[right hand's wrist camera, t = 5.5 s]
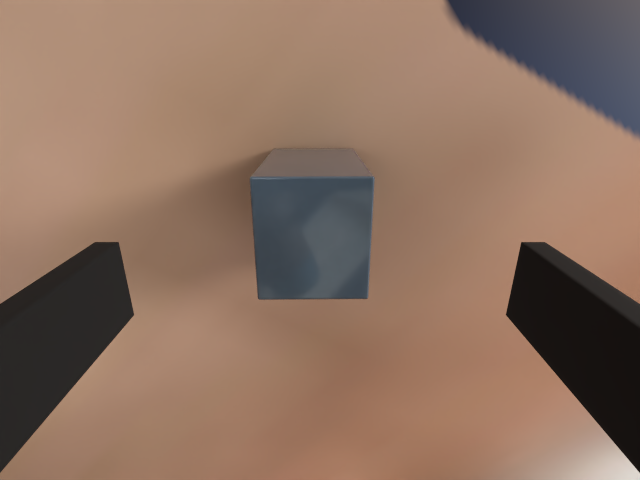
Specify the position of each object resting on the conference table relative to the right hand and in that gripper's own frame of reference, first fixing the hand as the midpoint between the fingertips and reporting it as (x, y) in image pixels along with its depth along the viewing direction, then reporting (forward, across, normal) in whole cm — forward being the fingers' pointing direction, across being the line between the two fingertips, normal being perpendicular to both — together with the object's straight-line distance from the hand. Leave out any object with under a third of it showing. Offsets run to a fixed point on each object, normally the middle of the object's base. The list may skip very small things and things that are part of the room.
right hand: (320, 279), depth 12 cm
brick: (+13, 0, 0) cm, 13 cm away
